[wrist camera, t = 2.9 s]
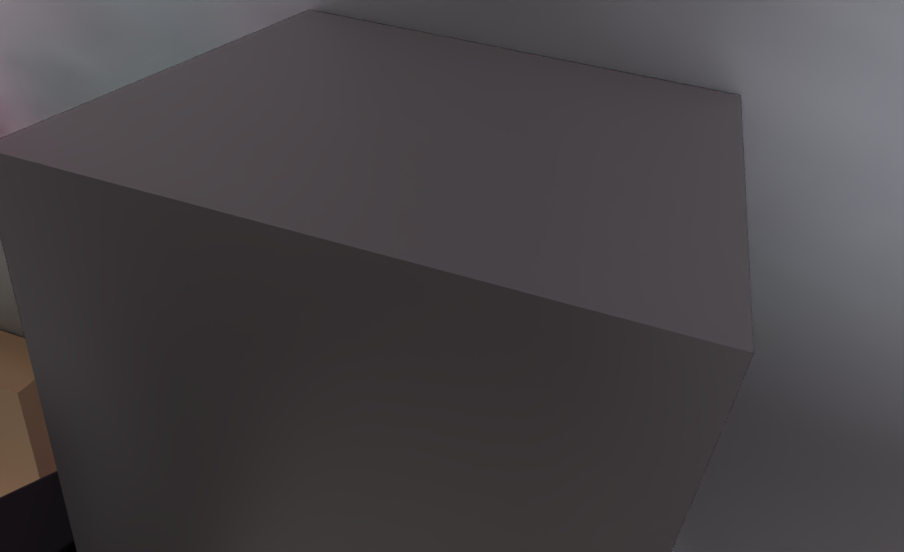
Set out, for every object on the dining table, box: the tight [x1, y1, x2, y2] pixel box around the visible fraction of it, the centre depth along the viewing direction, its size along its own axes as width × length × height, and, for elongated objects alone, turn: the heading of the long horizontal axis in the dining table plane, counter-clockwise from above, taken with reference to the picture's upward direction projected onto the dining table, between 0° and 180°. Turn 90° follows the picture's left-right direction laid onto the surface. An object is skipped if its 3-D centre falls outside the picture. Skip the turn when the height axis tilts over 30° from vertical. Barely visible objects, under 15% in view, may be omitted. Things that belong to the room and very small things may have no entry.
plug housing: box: [0, 10, 754, 552], centre depth 8 cm, size 9×4×4 cm, turn 174°
